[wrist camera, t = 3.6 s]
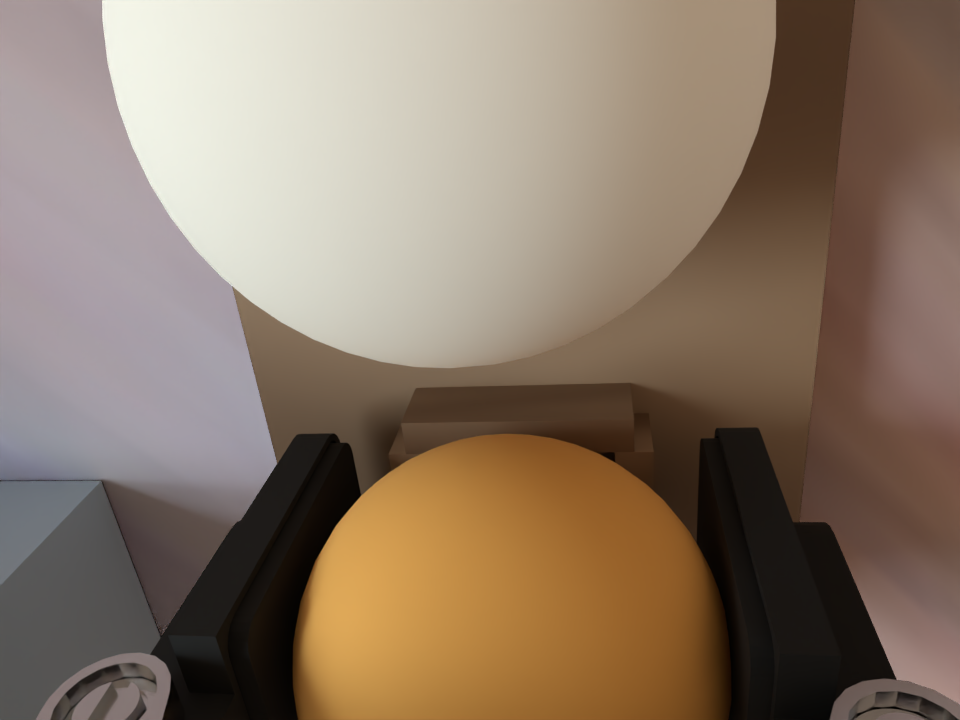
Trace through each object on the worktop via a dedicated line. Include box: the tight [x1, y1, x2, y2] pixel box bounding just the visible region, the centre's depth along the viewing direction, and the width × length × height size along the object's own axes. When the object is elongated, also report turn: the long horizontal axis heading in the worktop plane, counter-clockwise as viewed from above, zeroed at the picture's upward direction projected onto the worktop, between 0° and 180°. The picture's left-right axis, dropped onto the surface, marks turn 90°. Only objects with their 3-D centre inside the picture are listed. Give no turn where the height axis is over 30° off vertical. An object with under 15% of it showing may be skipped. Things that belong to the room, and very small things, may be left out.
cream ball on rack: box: [102, 0, 776, 368], centre depth 6 cm, size 5×5×5 cm
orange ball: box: [293, 434, 732, 720], centre depth 9 cm, size 5×5×5 cm
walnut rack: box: [232, 0, 855, 542], centre depth 12 cm, size 20×8×2 cm, turn 6°
